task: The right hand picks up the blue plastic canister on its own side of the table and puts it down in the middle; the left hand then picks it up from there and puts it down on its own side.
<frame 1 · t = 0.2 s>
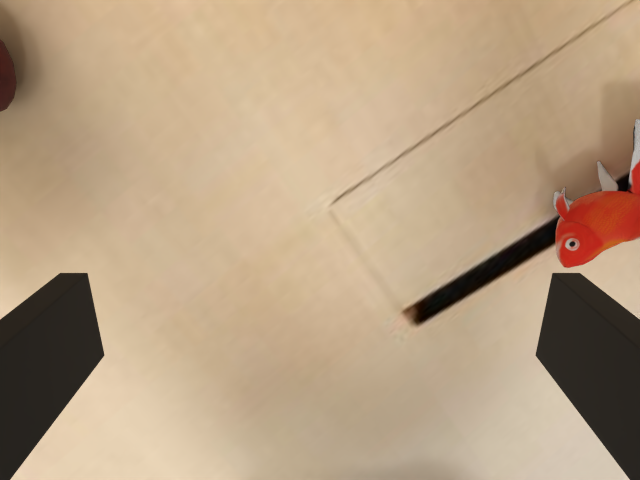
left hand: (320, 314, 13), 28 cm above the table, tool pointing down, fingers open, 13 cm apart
fish: (599, 176, 40), on the table
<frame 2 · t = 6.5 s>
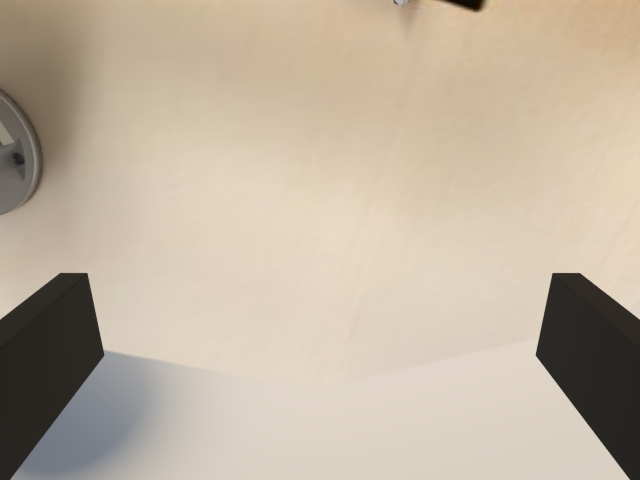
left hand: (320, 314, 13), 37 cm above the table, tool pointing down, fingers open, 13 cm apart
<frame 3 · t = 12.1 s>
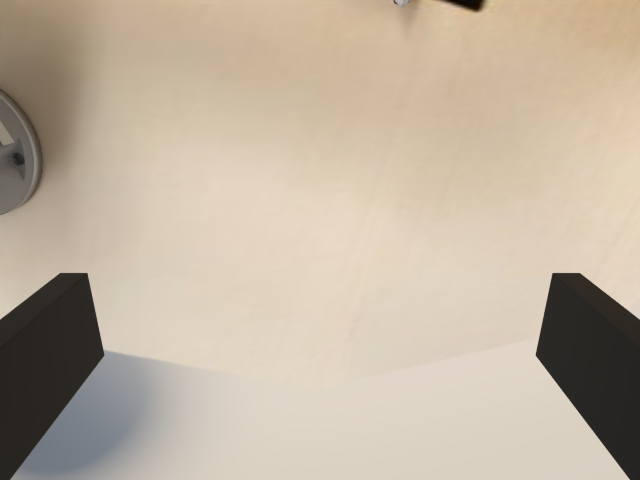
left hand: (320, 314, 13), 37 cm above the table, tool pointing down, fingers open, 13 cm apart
when the right hand's fingers open (8 cm above the table, at t = 17.5 s): canister stays where it is, on the table.
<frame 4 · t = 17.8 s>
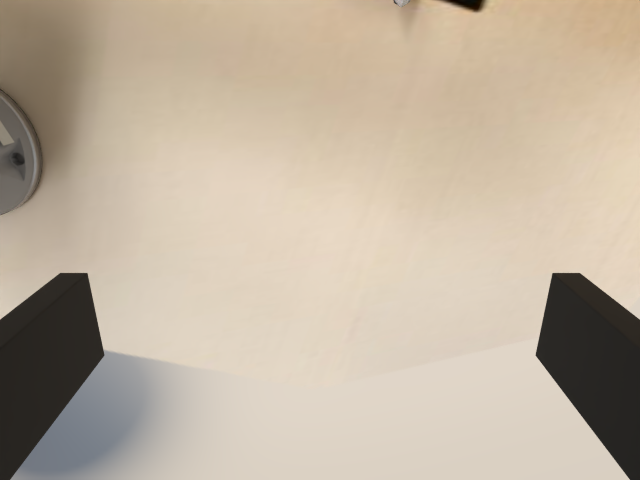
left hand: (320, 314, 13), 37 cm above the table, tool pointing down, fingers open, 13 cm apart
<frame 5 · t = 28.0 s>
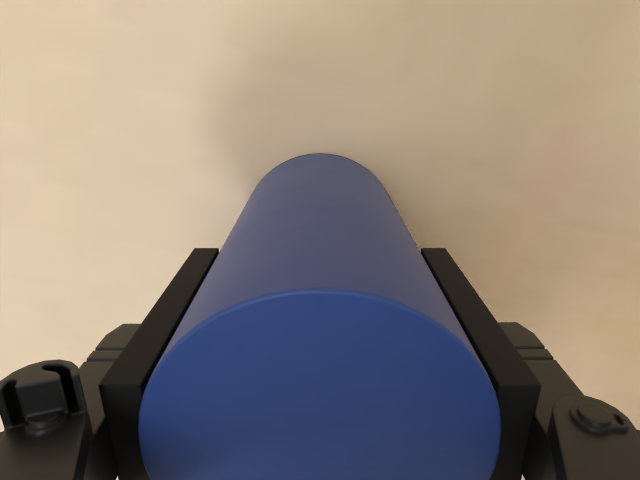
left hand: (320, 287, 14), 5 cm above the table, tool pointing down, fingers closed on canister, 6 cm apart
canister: (320, 228, 19), on the table, touching left hand
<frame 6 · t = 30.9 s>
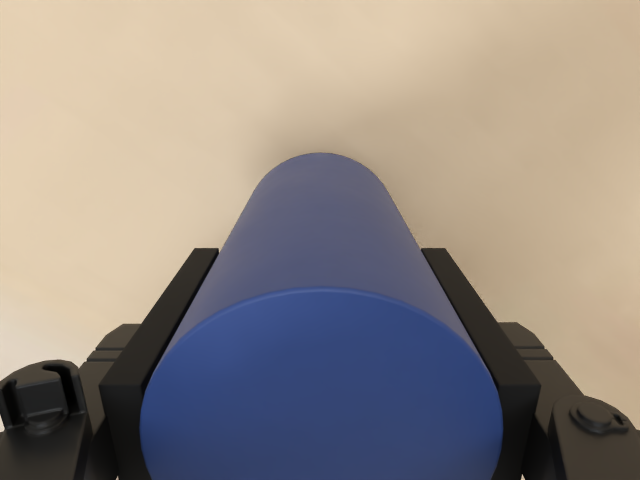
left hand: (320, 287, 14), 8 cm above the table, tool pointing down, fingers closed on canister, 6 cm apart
canister: (320, 227, 19), point 3 cm above the table, touching left hand
when the left hand's fingers open (6 cm above the table, at t = 33.9 s): canister drops 1 cm, on the table.
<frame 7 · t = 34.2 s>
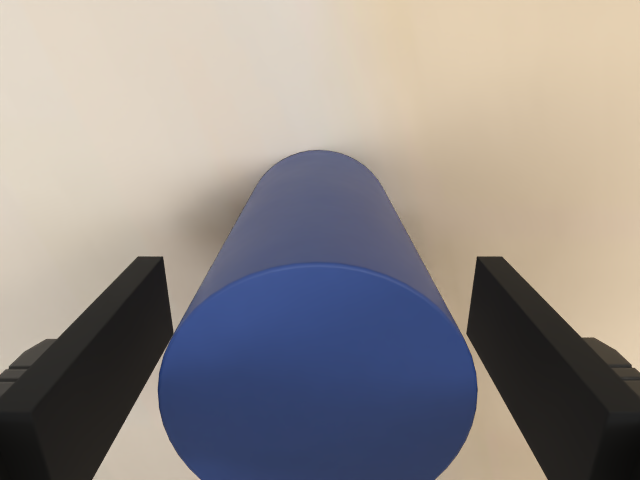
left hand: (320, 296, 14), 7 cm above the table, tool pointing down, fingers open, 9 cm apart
canister: (318, 221, 20), on the table
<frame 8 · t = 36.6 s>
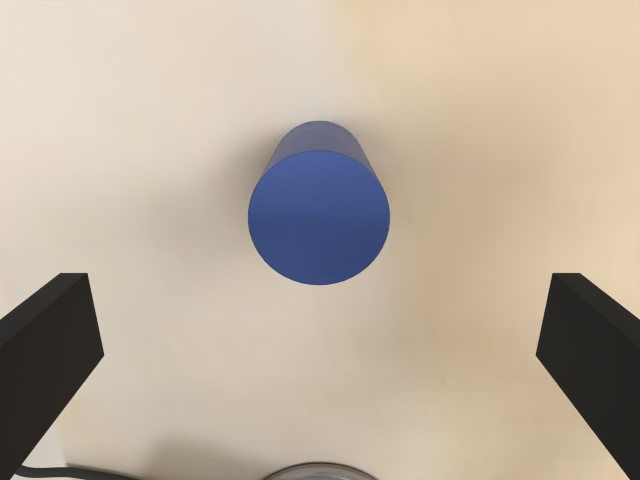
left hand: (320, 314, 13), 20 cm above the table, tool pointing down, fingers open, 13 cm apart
canister: (319, 167, 31), on the table
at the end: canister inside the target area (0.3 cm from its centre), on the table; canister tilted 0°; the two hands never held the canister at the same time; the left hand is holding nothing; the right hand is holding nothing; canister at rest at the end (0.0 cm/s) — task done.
